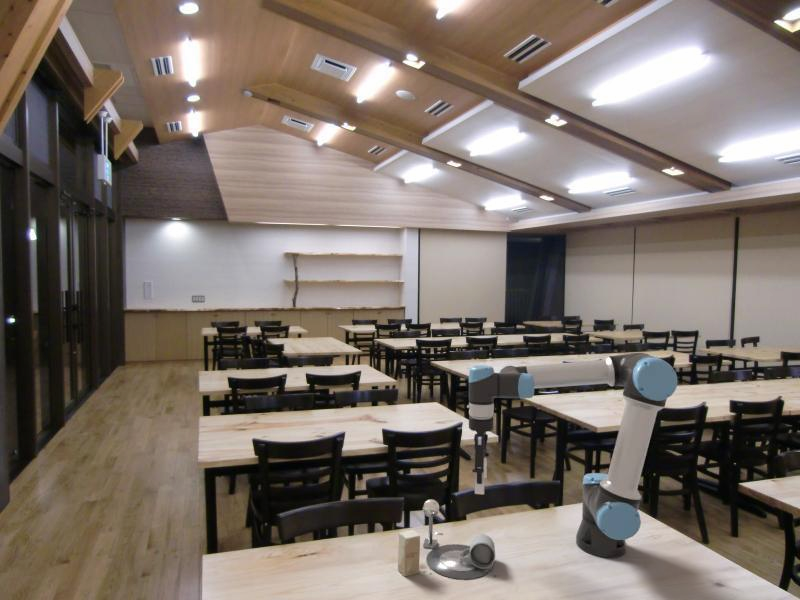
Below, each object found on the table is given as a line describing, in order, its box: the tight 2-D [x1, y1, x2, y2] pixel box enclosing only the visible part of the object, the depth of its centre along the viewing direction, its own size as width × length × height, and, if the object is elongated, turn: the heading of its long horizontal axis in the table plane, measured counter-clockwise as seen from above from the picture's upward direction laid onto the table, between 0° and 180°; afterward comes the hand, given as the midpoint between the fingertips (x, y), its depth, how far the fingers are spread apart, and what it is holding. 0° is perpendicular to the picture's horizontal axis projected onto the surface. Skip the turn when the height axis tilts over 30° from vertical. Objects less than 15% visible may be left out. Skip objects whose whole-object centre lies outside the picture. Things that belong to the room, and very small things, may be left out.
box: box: [397, 529, 421, 577], centre depth 153 cm, size 5×4×11 cm
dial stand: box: [422, 499, 444, 550], centre depth 169 cm, size 6×4×14 cm, turn 79°
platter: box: [426, 543, 494, 580], centre depth 159 cm, size 20×20×1 cm
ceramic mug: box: [459, 533, 496, 569], centre depth 159 cm, size 11×8×8 cm
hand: (480, 485), depth 161 cm, fingers open, 13 cm apart
